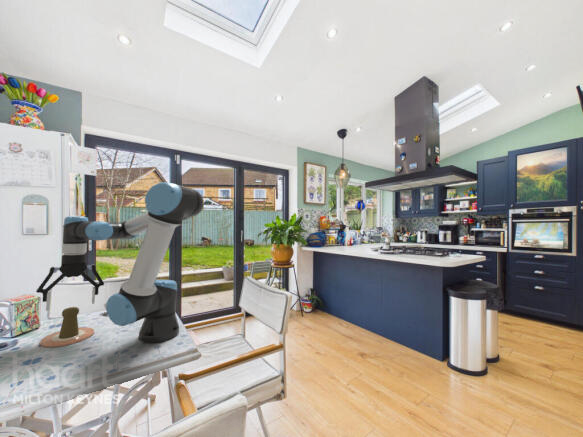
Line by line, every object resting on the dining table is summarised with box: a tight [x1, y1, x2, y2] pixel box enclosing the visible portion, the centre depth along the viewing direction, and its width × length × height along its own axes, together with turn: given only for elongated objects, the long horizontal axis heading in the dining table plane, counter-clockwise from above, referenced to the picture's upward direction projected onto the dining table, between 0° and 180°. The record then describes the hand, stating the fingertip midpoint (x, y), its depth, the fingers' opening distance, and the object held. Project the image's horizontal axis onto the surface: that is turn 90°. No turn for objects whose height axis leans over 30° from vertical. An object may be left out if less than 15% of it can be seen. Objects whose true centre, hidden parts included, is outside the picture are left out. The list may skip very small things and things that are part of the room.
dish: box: [39, 326, 95, 348], centre depth 97 cm, size 16×16×1 cm
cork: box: [59, 306, 80, 339], centre depth 97 cm, size 6×6×11 cm
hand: (71, 306), depth 97 cm, fingers open, 13 cm apart
